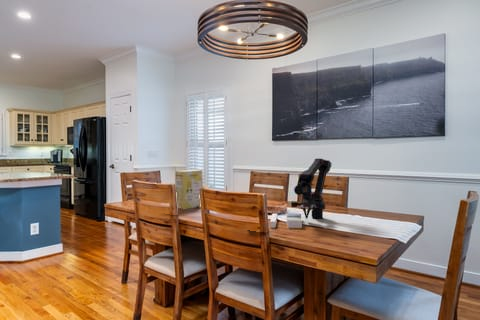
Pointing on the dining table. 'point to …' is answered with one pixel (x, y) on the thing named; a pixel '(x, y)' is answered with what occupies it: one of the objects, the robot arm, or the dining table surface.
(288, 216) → the slate block
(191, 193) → the pasta box
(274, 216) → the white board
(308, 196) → the robot arm
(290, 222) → the grey block
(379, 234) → the dining table surface
